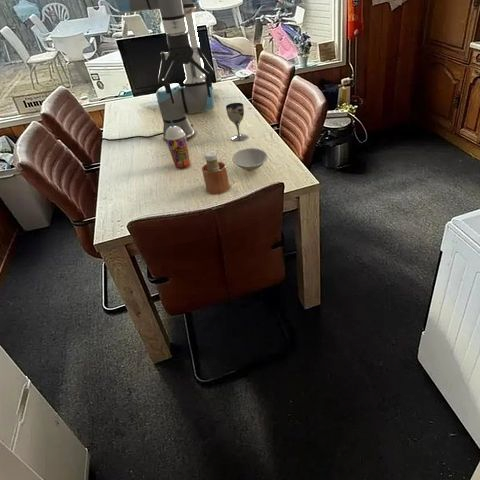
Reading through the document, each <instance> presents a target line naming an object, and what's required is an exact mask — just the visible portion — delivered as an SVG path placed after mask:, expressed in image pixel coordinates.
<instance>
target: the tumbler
mask: <svg viewBox="0 0 480 480" xmlns="http://www.w3.org/2000/svg"><path fill="white" fill-rule="evenodd" d="M218 165H219V169H220V170H218V171H214V172H208V167H207V163H205V164H204V165H202V167H201V172H202V176H203V180H204V183H205V184H204V185H205V189H206V192H207V193H208V194H211V195H219V194H224V193H226V192H227V191H229V189H230V181H229V177H228V171H227V165H226V163H225V162H222V161H218Z"/></svg>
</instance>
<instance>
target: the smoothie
mask: <svg viewBox="0 0 480 480" xmlns="http://www.w3.org/2000/svg"><path fill="white" fill-rule="evenodd" d="M170 121H171V125H172V126H171V127H169V128H168V129H167V131H166V135H165V139H166V144H167V147H168V150H169V153H170V156H171V158H172V162H173V165H174V166H175V167H176V169H179V170H185V169H187V168H189V167H190V163H191V159H190V152H189V148H188V142H187V141H188V140H186V136H185V132H183V130H182V129H181V128H180V127H178V126H173V122H172V119H170Z"/></svg>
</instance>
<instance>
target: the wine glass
mask: <svg viewBox="0 0 480 480" xmlns="http://www.w3.org/2000/svg"><path fill="white" fill-rule="evenodd" d="M225 110H226V114H227V117H228V119H229V121H230V122H231V123H232V124H234V126H235V128H236V131H237V135H234V136H232V137H231V140H232V141H233V142H241V141H244V140H247V136H246V135H245V134H240V124H241V123H242V121H243V119H244V116H245V108H244V104H243V102H231V103H228V104H227V105H225Z"/></svg>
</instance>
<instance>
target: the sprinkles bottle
mask: <svg viewBox="0 0 480 480" xmlns="http://www.w3.org/2000/svg"><path fill="white" fill-rule="evenodd" d="M203 157H204V160H205V164H207V167H208V172H214V171H218V170H220V169H219V165H218V162H219V160H218V153H217V151H214V150H213V151H212V150H211V151H207V152H205V153H204V156H203Z"/></svg>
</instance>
